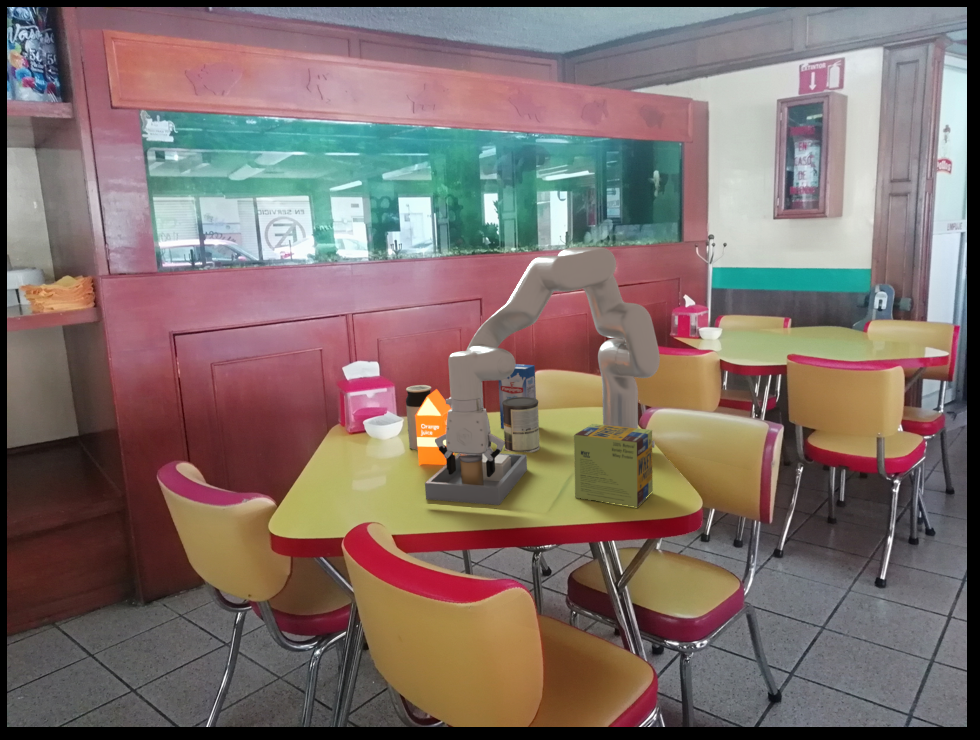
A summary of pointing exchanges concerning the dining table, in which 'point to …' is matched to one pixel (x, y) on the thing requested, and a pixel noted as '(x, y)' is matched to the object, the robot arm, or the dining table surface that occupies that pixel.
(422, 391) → the travel mug
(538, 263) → the robot arm
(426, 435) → the orange juice
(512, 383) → the milk carton
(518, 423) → the coffee can
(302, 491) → the dining table surface
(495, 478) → the egg box
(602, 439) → the protein box
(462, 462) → the amber jar
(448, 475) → the tray
